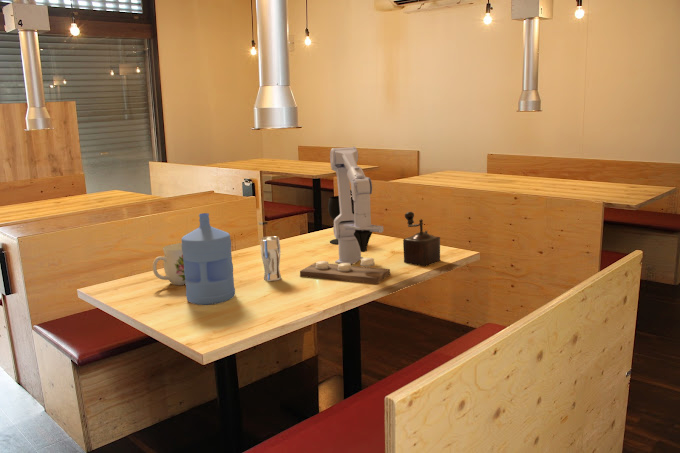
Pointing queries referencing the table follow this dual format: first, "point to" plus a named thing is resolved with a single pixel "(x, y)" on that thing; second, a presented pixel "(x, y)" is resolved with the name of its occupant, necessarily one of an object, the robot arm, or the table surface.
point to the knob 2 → (344, 267)
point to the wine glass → (334, 212)
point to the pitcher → (172, 264)
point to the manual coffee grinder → (420, 245)
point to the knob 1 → (322, 265)
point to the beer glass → (271, 257)
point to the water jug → (208, 264)
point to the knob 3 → (367, 262)
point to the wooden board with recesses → (347, 273)
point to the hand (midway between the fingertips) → (363, 251)
